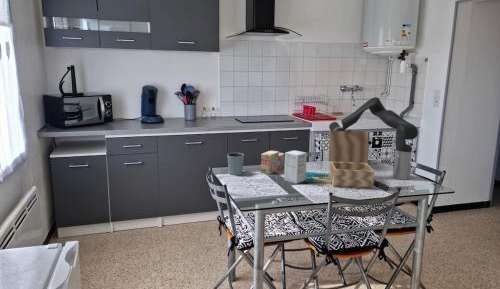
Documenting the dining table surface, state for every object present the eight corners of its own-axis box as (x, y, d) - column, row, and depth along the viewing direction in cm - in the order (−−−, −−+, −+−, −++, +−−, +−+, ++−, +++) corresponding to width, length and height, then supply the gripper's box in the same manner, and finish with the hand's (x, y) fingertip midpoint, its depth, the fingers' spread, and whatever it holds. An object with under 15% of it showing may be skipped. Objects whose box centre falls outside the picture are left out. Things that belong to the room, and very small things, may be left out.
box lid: (368, 162, 226) (367, 162, 229) (368, 130, 228) (367, 131, 231) (329, 160, 227) (328, 161, 230) (330, 128, 229) (329, 129, 233)
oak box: (365, 179, 229) (366, 163, 227) (372, 188, 211) (374, 171, 209) (328, 177, 230) (329, 161, 228) (333, 186, 213) (334, 169, 211)
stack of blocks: (275, 165, 254) (276, 147, 251) (284, 167, 251) (285, 148, 248) (260, 172, 236) (261, 153, 233) (269, 174, 233) (270, 155, 230)
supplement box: (306, 180, 223) (307, 152, 219) (296, 183, 216) (298, 155, 213) (292, 176, 229) (294, 149, 226) (283, 180, 223) (284, 152, 219)
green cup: (244, 171, 237) (244, 153, 234) (242, 176, 227) (242, 157, 225) (228, 170, 238) (228, 152, 235) (225, 175, 228) (225, 156, 226)
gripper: (348, 138, 259) (353, 144, 242) (329, 138, 260) (332, 143, 243) (349, 128, 257) (354, 132, 240) (330, 127, 258) (333, 131, 241)
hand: (343, 137), depth 241 cm, fingers closed
